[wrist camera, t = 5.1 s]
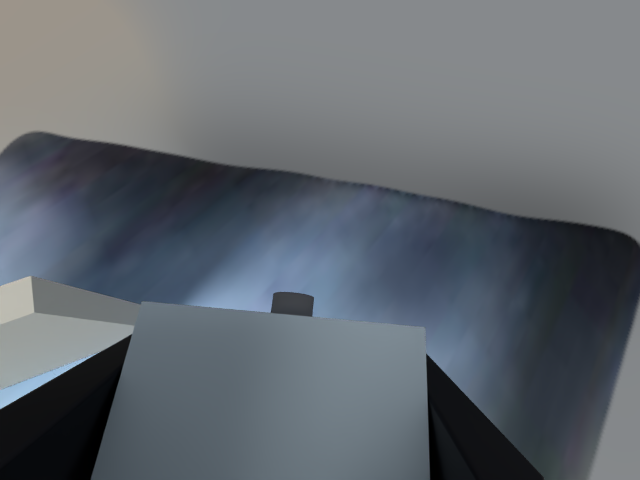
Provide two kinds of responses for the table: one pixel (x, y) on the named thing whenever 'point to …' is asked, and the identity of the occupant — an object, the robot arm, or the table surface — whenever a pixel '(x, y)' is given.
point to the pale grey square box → (267, 397)
